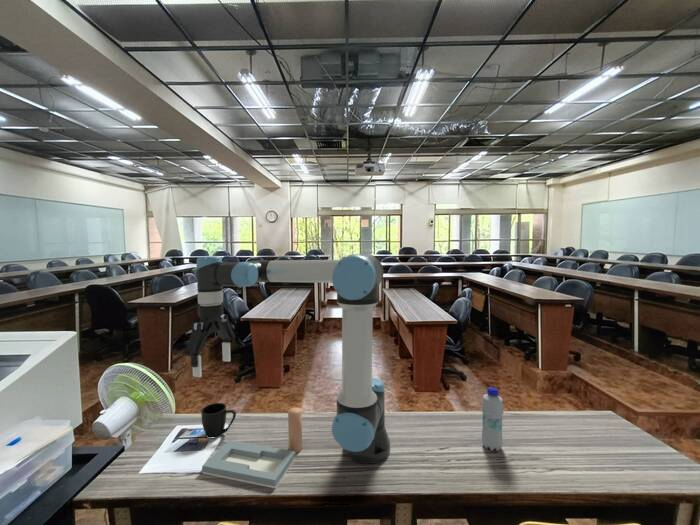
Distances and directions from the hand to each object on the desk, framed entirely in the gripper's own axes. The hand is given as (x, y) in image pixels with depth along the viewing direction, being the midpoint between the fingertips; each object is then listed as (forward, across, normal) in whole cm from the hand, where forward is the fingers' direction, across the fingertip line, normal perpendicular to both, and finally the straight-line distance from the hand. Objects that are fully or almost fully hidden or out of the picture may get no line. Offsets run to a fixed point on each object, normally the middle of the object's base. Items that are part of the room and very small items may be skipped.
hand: (212, 368), depth 105 cm
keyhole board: (+28, +3, +16) cm, 32 cm away
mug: (+28, -8, -5) cm, 29 cm away
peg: (+28, -8, +25) cm, 38 cm away
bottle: (+28, -28, +87) cm, 96 cm away
